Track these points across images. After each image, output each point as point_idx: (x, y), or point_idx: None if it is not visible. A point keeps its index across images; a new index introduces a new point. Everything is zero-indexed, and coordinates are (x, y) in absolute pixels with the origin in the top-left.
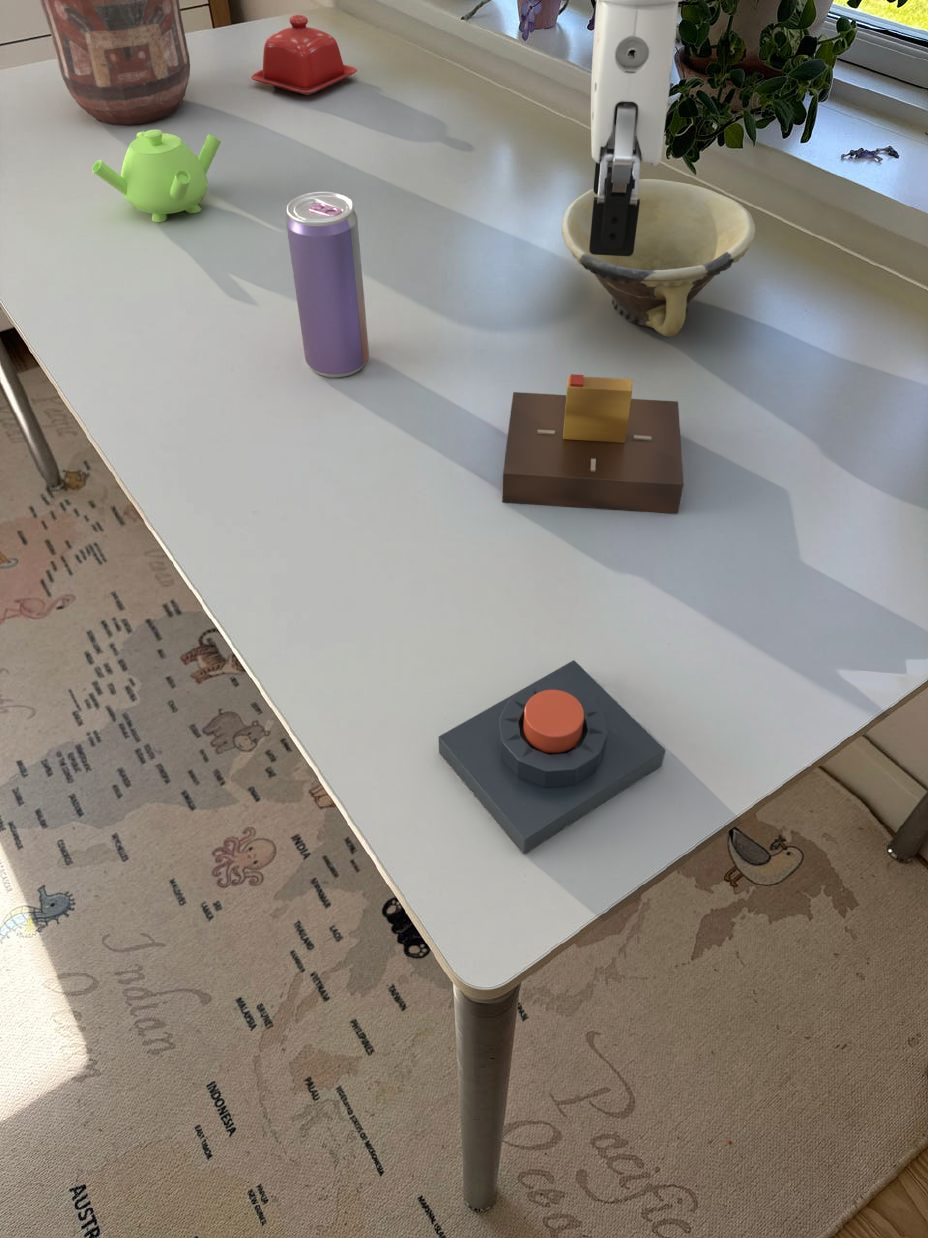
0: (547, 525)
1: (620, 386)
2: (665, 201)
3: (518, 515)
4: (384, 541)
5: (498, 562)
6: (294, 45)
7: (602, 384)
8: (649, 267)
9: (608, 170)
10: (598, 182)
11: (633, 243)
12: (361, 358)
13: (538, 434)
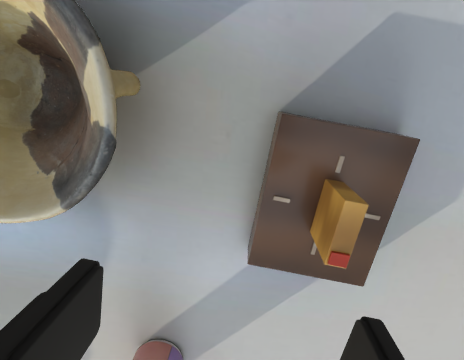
0: (386, 240)
1: (357, 215)
2: None
3: None
4: None
5: (418, 277)
6: None
7: (348, 233)
8: (3, 86)
9: (68, 356)
10: (85, 345)
11: (392, 340)
12: (171, 352)
13: (315, 253)
